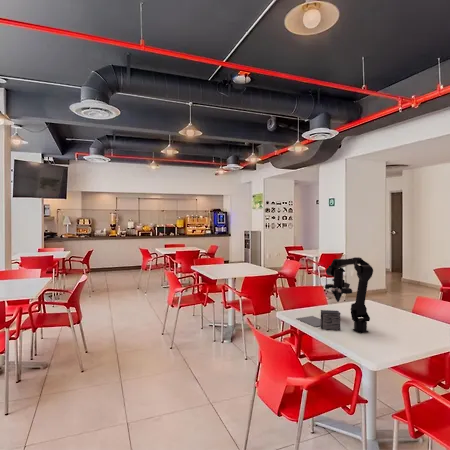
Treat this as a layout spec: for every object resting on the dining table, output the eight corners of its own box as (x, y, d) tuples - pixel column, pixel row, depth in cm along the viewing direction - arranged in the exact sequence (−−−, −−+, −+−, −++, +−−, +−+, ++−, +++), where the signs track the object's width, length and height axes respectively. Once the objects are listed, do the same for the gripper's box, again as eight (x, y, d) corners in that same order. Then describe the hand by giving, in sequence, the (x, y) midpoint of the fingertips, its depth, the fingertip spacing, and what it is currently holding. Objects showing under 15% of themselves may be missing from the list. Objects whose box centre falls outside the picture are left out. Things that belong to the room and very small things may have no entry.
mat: (332, 324, 205) (332, 323, 205) (314, 327, 199) (314, 326, 199) (312, 316, 222) (312, 315, 222) (296, 319, 215) (296, 318, 215)
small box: (337, 327, 200) (338, 310, 200) (340, 330, 194) (340, 313, 193) (320, 326, 201) (320, 309, 201) (322, 330, 195) (322, 312, 194)
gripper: (358, 279, 210) (358, 303, 210) (336, 275, 226) (336, 297, 226) (345, 280, 205) (345, 305, 205) (324, 276, 221) (324, 299, 222)
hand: (337, 301), depth 215 cm, fingers closed
